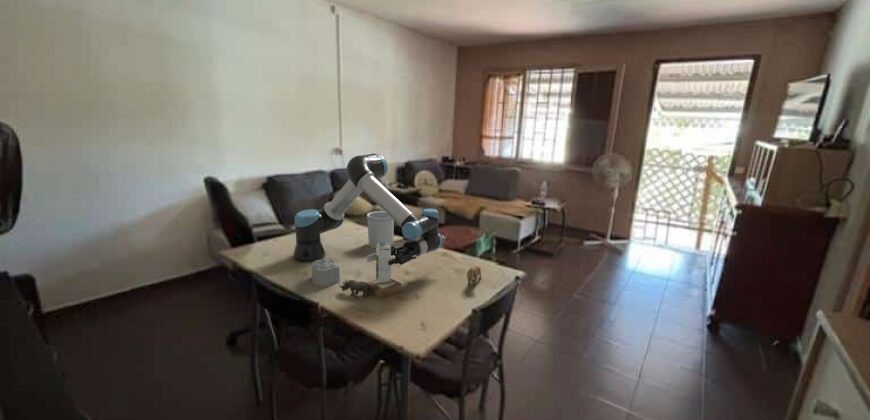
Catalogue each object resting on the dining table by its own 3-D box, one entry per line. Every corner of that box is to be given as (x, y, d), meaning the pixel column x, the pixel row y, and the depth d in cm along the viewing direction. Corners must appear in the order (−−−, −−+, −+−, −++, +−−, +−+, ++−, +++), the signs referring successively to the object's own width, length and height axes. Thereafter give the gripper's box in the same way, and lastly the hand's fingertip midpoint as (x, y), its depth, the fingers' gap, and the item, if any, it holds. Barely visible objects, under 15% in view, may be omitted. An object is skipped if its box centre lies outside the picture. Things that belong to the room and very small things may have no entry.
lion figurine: (477, 290, 160) (478, 270, 158) (465, 289, 161) (466, 269, 159) (482, 277, 174) (483, 258, 172) (470, 275, 175) (471, 257, 173)
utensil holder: (392, 249, 207) (392, 218, 203) (365, 248, 207) (364, 217, 203) (395, 240, 222) (395, 211, 217) (370, 240, 222) (369, 210, 217)
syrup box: (377, 275, 158) (376, 242, 155) (391, 275, 159) (391, 242, 155) (376, 281, 153) (375, 247, 149) (390, 281, 153) (390, 246, 150)
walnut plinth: (366, 291, 157) (366, 282, 156) (385, 284, 164) (385, 275, 163) (382, 299, 150) (382, 290, 149) (401, 291, 158) (401, 282, 157)
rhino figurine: (342, 289, 159) (342, 276, 157) (372, 294, 155) (372, 280, 153) (337, 293, 155) (336, 279, 153) (367, 299, 151) (367, 284, 149)
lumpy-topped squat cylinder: (321, 287, 160) (320, 268, 158) (306, 278, 169) (305, 259, 166) (343, 280, 167) (342, 262, 165) (328, 272, 176) (327, 254, 174)
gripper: (432, 262, 161) (391, 278, 145) (398, 250, 174) (358, 263, 158) (432, 245, 159) (391, 259, 143) (398, 234, 173) (357, 246, 156)
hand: (374, 261), depth 150 cm, fingers closed on syrup box, 8 cm apart
